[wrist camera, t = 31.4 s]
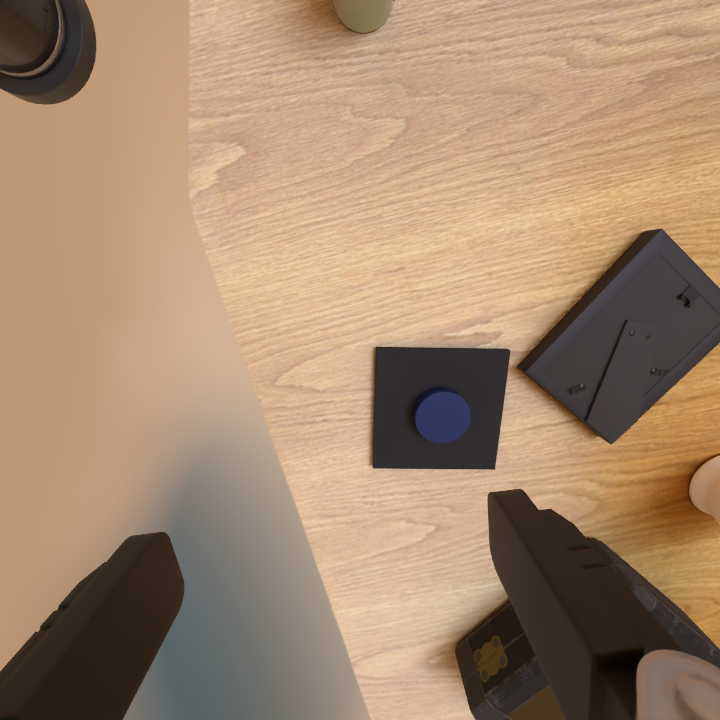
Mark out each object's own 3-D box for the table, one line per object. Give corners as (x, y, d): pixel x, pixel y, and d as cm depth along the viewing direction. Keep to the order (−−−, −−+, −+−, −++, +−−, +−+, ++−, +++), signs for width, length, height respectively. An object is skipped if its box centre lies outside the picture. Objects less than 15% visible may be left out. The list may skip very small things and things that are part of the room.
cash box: (545, 713, 50) (579, 790, 43) (448, 647, 47) (466, 719, 39) (686, 612, 46) (751, 679, 38) (590, 530, 42) (641, 586, 35)
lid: (474, 395, 36) (479, 400, 35) (454, 442, 38) (459, 449, 36) (423, 380, 36) (426, 385, 34) (405, 428, 37) (407, 435, 36)
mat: (372, 464, 39) (372, 468, 39) (376, 346, 36) (376, 348, 35) (492, 465, 40) (494, 469, 39) (507, 348, 36) (510, 350, 35)
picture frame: (599, 436, 39) (727, 314, 35) (613, 446, 37) (751, 317, 33) (516, 367, 37) (644, 230, 33) (527, 372, 34) (665, 227, 31)
